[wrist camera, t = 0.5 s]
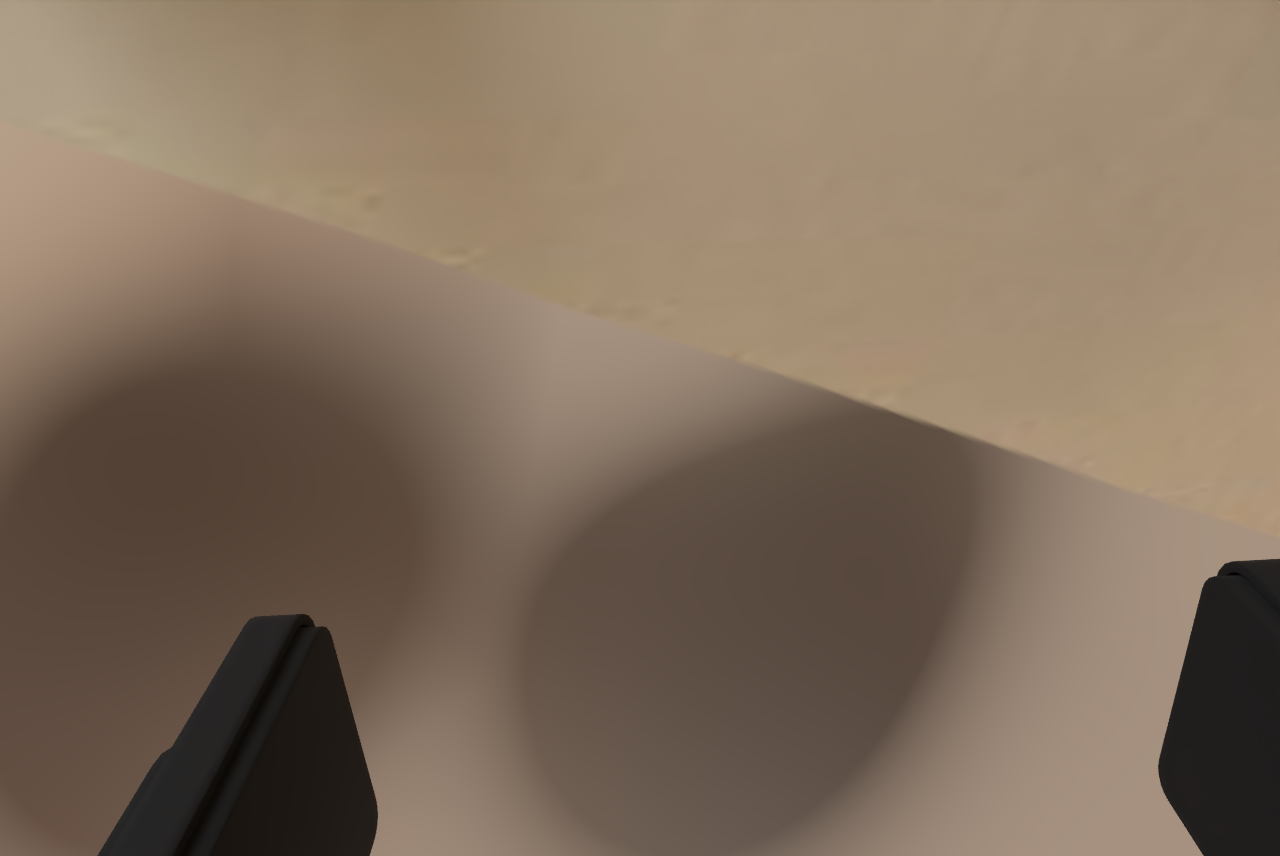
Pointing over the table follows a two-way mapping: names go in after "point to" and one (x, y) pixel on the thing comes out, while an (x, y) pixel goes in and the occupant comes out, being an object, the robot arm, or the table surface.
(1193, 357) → the table surface
